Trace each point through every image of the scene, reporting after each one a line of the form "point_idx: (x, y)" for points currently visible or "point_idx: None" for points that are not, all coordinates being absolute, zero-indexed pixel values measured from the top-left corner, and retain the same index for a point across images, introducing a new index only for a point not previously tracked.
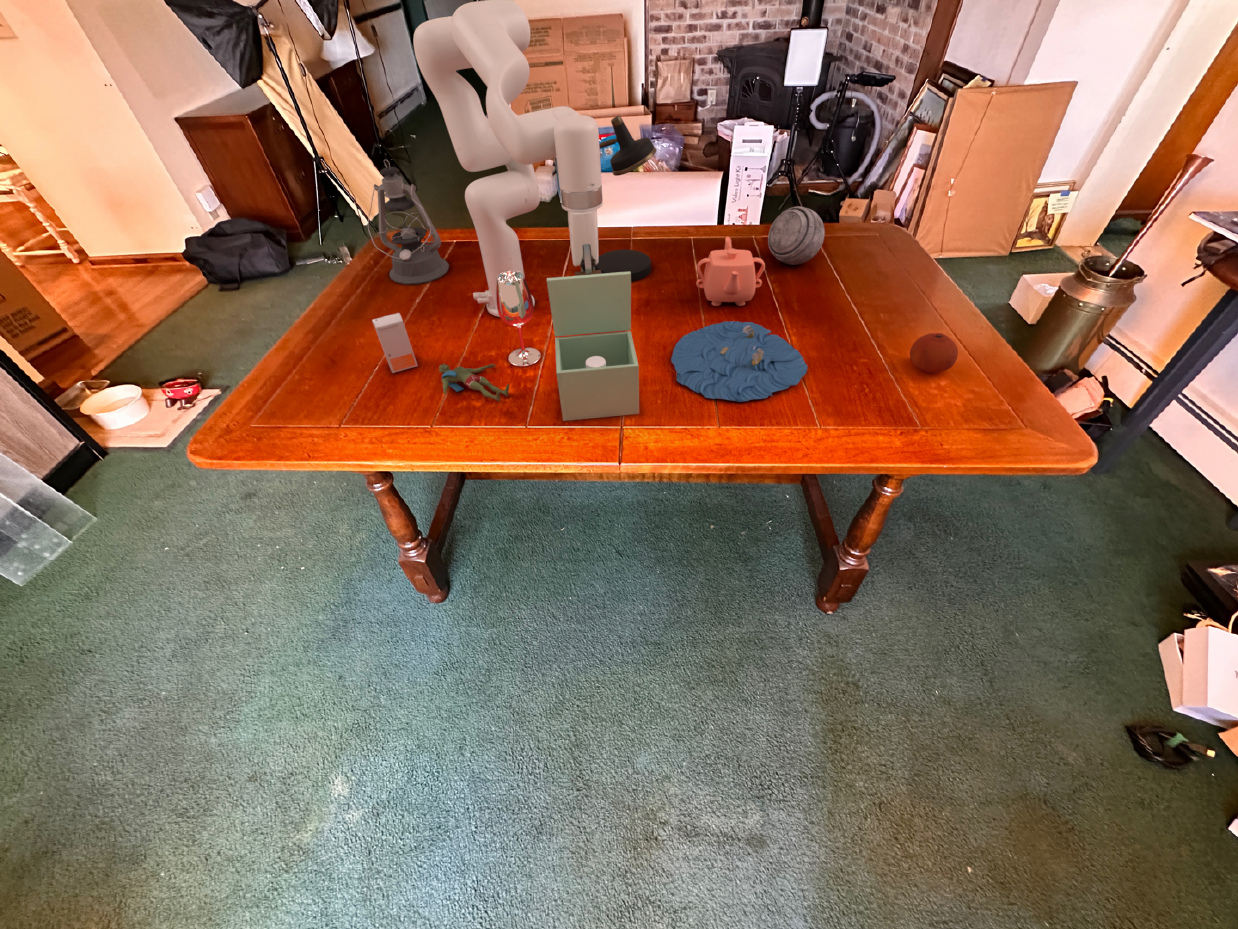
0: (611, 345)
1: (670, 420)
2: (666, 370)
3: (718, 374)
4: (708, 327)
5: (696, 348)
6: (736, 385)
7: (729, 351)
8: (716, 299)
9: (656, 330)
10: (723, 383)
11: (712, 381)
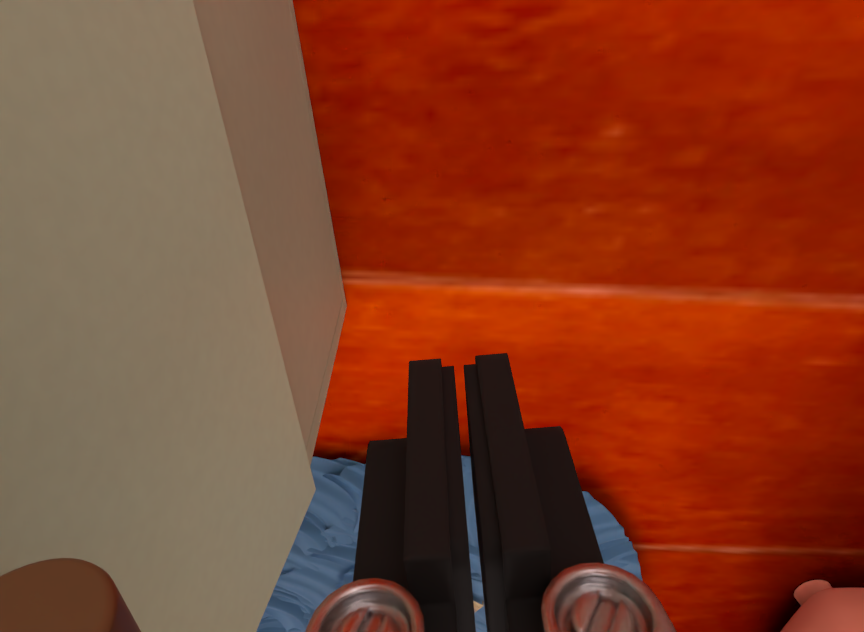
0: None
1: None
2: (396, 425)
3: (352, 562)
4: (631, 571)
5: None
6: (291, 594)
7: None
8: (800, 617)
9: (694, 408)
10: (305, 567)
11: (311, 545)
